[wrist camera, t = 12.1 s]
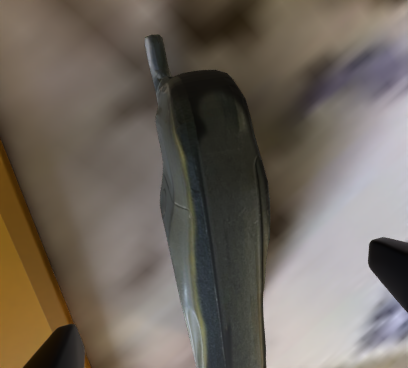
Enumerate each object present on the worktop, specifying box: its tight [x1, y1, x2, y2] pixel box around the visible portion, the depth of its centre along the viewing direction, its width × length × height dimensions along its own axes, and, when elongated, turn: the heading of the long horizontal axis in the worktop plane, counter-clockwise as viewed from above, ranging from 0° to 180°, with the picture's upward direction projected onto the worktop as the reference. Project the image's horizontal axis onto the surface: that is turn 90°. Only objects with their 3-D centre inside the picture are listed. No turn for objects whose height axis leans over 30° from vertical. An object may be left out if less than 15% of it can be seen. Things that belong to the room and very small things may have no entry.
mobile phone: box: [145, 35, 270, 368], centre depth 10 cm, size 5×3×15 cm
